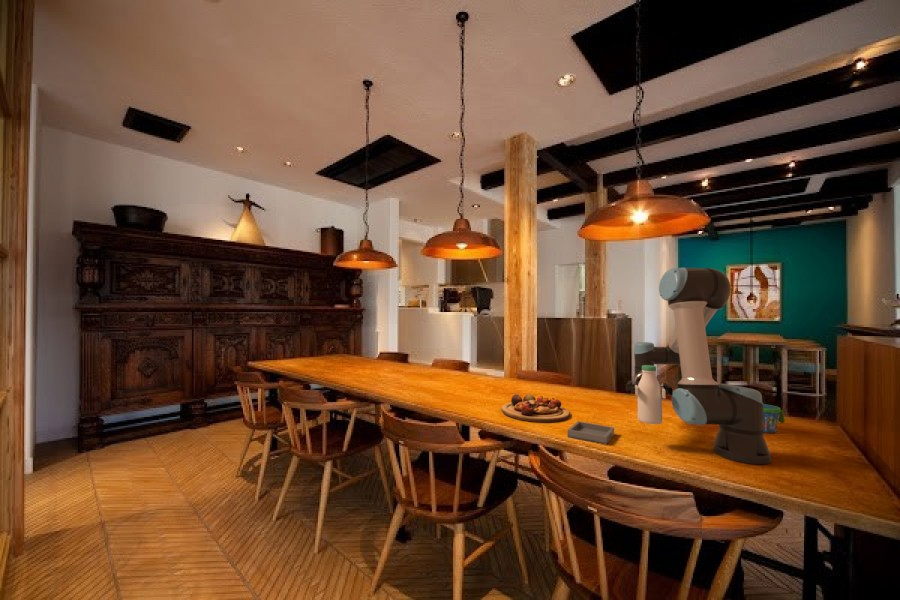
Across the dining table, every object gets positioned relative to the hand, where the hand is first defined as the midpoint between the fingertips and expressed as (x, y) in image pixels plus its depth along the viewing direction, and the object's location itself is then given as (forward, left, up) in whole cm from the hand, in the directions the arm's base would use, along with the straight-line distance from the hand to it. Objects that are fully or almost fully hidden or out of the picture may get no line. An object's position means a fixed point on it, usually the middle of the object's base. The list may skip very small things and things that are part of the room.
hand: (650, 393), depth 125 cm
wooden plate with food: (+51, -22, -21) cm, 59 cm away
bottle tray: (+21, -4, -20) cm, 29 cm away
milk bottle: (+1, -5, -11) cm, 12 cm away
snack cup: (-35, -54, -20) cm, 67 cm away
